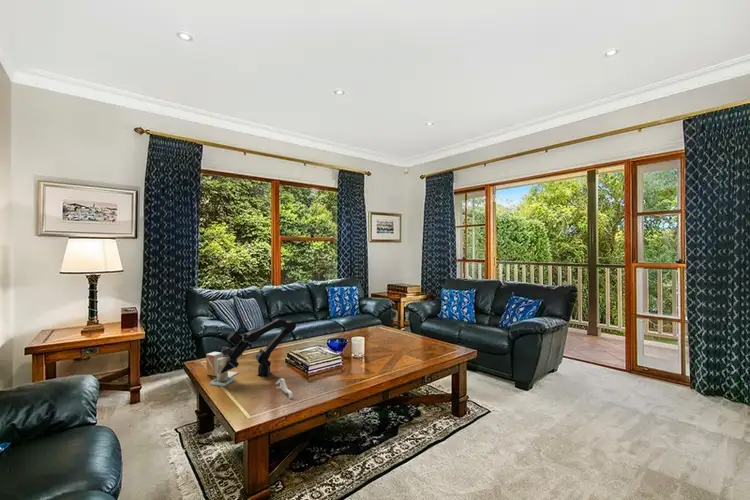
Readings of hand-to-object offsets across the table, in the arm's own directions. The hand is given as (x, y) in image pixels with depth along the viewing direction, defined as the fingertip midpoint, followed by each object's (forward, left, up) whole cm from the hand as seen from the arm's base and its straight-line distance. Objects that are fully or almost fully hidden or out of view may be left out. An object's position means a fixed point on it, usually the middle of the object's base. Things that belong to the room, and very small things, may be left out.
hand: (219, 370), depth 210 cm
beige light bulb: (-1, -1, -7) cm, 7 cm away
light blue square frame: (-1, -1, -7) cm, 7 cm away
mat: (+3, -12, -7) cm, 14 cm away
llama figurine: (-43, +5, -8) cm, 44 cm away
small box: (+11, -11, -7) cm, 17 cm away
